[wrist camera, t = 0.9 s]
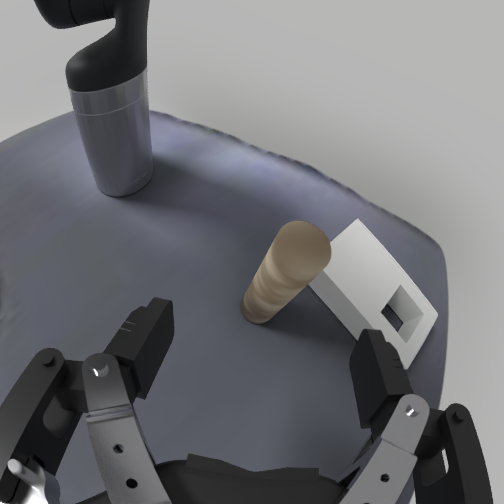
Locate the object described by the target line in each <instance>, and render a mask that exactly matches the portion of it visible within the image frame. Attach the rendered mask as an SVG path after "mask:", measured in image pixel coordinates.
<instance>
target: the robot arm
mask: <svg viewBox="0 0 504 504" xmlns="http://www.w3.org/2000/svg"><path fill="white" fill-rule="evenodd" d="M34 2H35V3H36V6H37V8H38V10H39V12H40V13H41V15H42V16H43V18H44V19H45V21H46V22H47V23H48V24H50V25H51V26H52V27H54V28H57V29H65V28H72V27H76V26H80V25H84V24H88V23H92V22H96V21H101V20H106V19H111V18H115V19H116V25H115V28H114V29H113V30H112V31H110V32H109V33H108V34H107V35H105V36H104V37H102V38H101V39H99V40H98V41H96V42H94V43H92V44H90V45H89V46H87V47H85V48H84V49H82V50H80V51H79V52H77V53H76V54H75V55H74V56H73V57H72V58H71V59H70V60H69V62H68V63H67V66H66V78H67V83H68V87H69V92H70V96H71V101H72V105H73V109H74V112H75V116H76V120H77V124H78V128H79V131H80V135H81V138H82V142H83V145H84V148H85V151H86V155H87V158H88V161H89V164H90V167H91V170H92V173H93V176H94V179H95V181H96V184H97V186H98V188H99V189H100V190H101V191H102V192H103V193H105V194H106V195H110V196H117V197H119V196H126V195H129V194H132V193H134V192H137V191H138V190H140V189H141V188H143V187H144V186H145V185H146V184H147V183H148V182H149V180H150V179H151V177H152V175H153V170H154V168H153V158H152V145H151V134H150V120H149V103H148V81H147V20H148V10H149V2H150V0H34ZM173 336H174V317H173V303H172V301H171V300H166V299H161V298H156V297H154V298H153V299H152V300H151V302H150V303H149V305H148V306H147V307H142V306H141V307H139V308H138V309H136V310H134V311H133V312H131V314H130V315H129V317H128V318H127V319H126V322H124V323H123V325H122V326H121V329H119V330H118V332H117V333H116V335H115V336H114V337H113V339H112V340H111V342H110V343H109V345H108V346H107V347H106V349H105V350H104V352H103V353H97V354H93V355H91V356H89V357H88V358H87V359H86V360H85V361H72V360H65V359H64V357H63V355H62V353H61V352H60V351H59V350H57V349H54V348H46V349H43V350H41V351H39V352H38V353H37V354H36V355H35V356H34V358H33V359H32V361H31V362H30V363H29V365H28V366H27V367H26V369H25V370H24V372H23V373H22V375H21V376H20V377H19V379H18V380H17V382H16V383H15V385H14V386H13V388H12V389H11V391H10V392H9V394H8V395H7V397H6V398H5V400H4V402H3V403H2V405H1V407H0V504H60V502H59V497H60V486H59V483H58V481H57V479H56V478H55V475H56V472H57V470H58V467H59V465H60V462H61V460H62V458H63V455H64V453H65V451H66V448H67V446H68V444H69V441H70V439H71V437H72V435H73V433H74V430H75V428H76V426H77V424H78V422H79V420H80V418H81V416H82V414H83V412H84V413H89V416H87V417H86V421H87V426H88V431H89V435H90V439H91V443H92V447H93V450H94V454H95V457H96V461H97V464H98V467H99V471H100V474H101V477H102V480H103V482H104V485H105V488H106V491H104V492H102V493H100V494H98V495H96V496H93V497H91V498H89V499H86V500H84V501H81V502H79V503H76V504H395V502H396V501H397V499H398V497H399V495H400V494H401V492H402V490H403V488H404V486H405V484H406V482H407V480H408V478H409V476H410V474H411V472H412V471H413V478H414V487H415V497H416V504H493V498H492V492H491V487H490V482H489V477H488V472H487V468H486V465H485V460H484V456H483V453H482V449H481V446H480V442H479V439H478V436H477V432H476V429H475V427H474V423H473V421H472V418H471V415H470V413H469V411H468V409H467V408H466V407H464V406H463V405H461V404H457V403H454V404H451V405H450V406H449V407H448V408H447V409H446V410H445V411H442V410H436V409H431V408H429V406H428V404H427V403H426V401H425V400H424V399H423V398H421V397H420V396H418V395H415V394H414V393H413V391H412V388H411V385H410V382H409V380H408V377H407V374H406V372H405V369H404V368H403V367H404V366H403V364H402V361H400V356H399V354H398V351H397V350H396V348H395V347H394V346H393V345H392V344H391V343H390V342H386V340H385V338H384V335H383V333H382V331H381V330H377V329H363V330H362V332H361V334H360V336H359V339H358V341H357V343H356V345H355V347H354V349H353V352H352V354H351V357H350V371H351V376H352V381H353V386H354V391H355V397H356V402H357V407H358V413H359V419H360V425H361V429H364V428H371V432H372V433H371V434H370V435H369V437H368V438H367V440H366V441H365V443H364V444H363V446H362V447H361V449H360V450H359V452H358V453H357V455H356V456H355V458H354V459H353V460H352V462H351V463H350V465H349V466H348V467H347V468H346V470H345V471H344V472H343V473H342V474H341V475H340V476H339V477H338V478H337V479H336V480H335V481H334V480H332V479H330V478H327V477H324V476H321V475H319V468H288V467H287V468H281V469H275V470H268V471H259V472H252V471H248V470H246V469H243V468H240V467H237V466H235V465H232V464H229V463H227V462H224V461H222V460H218V459H212V458H207V457H202V456H198V455H193V454H189V453H188V457H187V460H173V461H168V462H164V463H160V464H157V463H156V461H155V459H154V457H153V454H152V452H151V450H150V448H149V446H148V444H147V441H146V439H145V436H144V434H143V431H142V429H141V426H140V423H139V421H138V418H137V415H136V412H135V409H134V407H133V403H134V401H135V398H136V397H138V398H141V399H144V400H145V399H146V396H147V394H148V392H149V390H150V388H151V385H152V383H153V381H154V379H155V377H156V375H157V372H158V370H159V368H160V366H161V364H162V362H163V360H164V357H165V355H166V353H167V351H168V349H169V347H170V345H171V343H172V340H173ZM444 449H445V451H446V456H447V460H448V465H449V468H448V472H447V474H446V470H445V465H444V460H443V455H442V450H444Z"/></svg>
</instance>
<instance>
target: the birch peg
mask: <svg viewBox="0 0 504 504" xmlns="http://www.w3.org/2000/svg"><path fill="white" fill-rule="evenodd" d="M330 259H331V245H330V242H329V240H328V238H327V237H326V235H325V234H324V233H323V232H322V231H321V230H320V229H319V228H318V227H317V226H315V225H313V224H311V223H309V222H305V221H292V222H289V223H287V224H285V225H284V226H282V227H281V228H280V230H279V231H278V233H277V235H276V237H275V239H274V241H273V243H272V245H271V246H270V248H269V250H268V252H267V254H266V256H265V258H264V260H263V261H262V263H261V265H260V267H259V269H258V271H257V273H256V274H255V276H254V278H253V280H252V282H251V284H250V285H249V287H248V289H247V291H246V293H245V295H244V297H243V298H242V300H241V304H240V309H241V313H242V315H243V316H244V318H245V319H246V320H248V321H249V322H251V323H254V324H262V323H265V322H267V321H268V320H270V319H271V318H272V317H273V316H274V315H275V314H276V313H277V312H279V311H280V310H281V309H282V308H283V307H284V306H285V305H286V304H287V303H288V302H290V301H291V300H292V299H293V298H294V297H295V296H296V295H297V294H298V293H299V292H300V291H301V290H302V289H304V288H305V287H306V286H307V285H308V284H309V283H310V282H311V281H312V280H313V279H314V278H315V277H316V276H317V275H318V274H319V273H320V272H321V271H322V270H323V269H324V268H325V267H326V266H327V265H328V264H329V262H330Z"/></svg>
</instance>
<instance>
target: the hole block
mask: <svg viewBox="0 0 504 504" xmlns="http://www.w3.org/2000/svg"><path fill="white" fill-rule="evenodd" d="M330 245H331V259H330V262H329V264H328V265H327V266H326V267H325V268H324V269H323V270H322V271H321V272H320V273H319V274H318V275H317V276H316V277H315V278H314V279H313V280H312V281H311V282H310V283H309V284H308V285H309V286H310V287H311V288H312V289H313V290H314V292H315V293H316V294H317V295H318V296H319V297H320V298H321V299H322V301H323V302H324V303H325V304H326V305H327V306H328V307H329V309H330V310H331V311H332V312H333V313H334V314H335V315H336V317H337V318H338V319H339V320H340V321H341V322H342V323H343V325H344V326H345V327H346V328H347V329H348V330H349V331H350V333H351V334H352V335H353V336H354V337H355V338H356V340H357V341H358V339H359V336H360V334H361V332H362V330H363V329H377V330H381V331H382V333H383V335H384V338H385V340H386V342H390V343H391V344H392V345H393V346H394V347H395V348H396V350H397V351H398V354H399V356H400V361H402V364H403V366H404V367H403V368H404V369H405V370H406V369H408V367H409V366H410V364H411V363H412V361H413V359H414V358H415V356H416V355H417V353H418V351H419V349H420V348H421V346H422V344H423V343H424V341H425V339H426V337H427V335H428V334H429V332H430V330H431V328H432V326H433V324H434V322H435V320H436V318H437V316H438V313H437V312H436V311H435V309H434V308H433V307H432V305H431V304H430V303H429V301H428V300H427V299H426V297H425V296H424V295H423V294H422V292H421V291H420V290H419V288H418V287H417V286H416V285H415V283H414V282H413V281H412V280H411V278H410V277H409V276H408V275H407V274H406V272H405V271H404V270H403V269H402V267H401V266H400V265H399V264H398V263H397V262H396V260H395V259H394V258H393V257H392V256H391V255H390V253H389V252H388V251H387V250H386V249H385V248H384V247H383V245H382V244H381V243H380V242H379V241H378V240H377V239H376V238H375V237H374V235H373V234H372V233H371V232H370V231H369V230H368V229H367V228H366V227H365V226H364V225H363V224H362V222H361V221H360V220H359V219H356V220H355V221H354V222H353V223H352V224H351V225H350V226H349V227H347V228H346V229H345V230H344V231H343V232H342V233H341V234H339V235H338V236H337V237H336V238H335V239H334V240H332V241H331V242H330ZM387 303H388V305H389V306H390V307H391V308H392V309H393V311H394V312H395V313H396V314H397V316H398V317H399V318H400V319H401V321H402V322H403V325H402V326H401V328H400V329H399V331H398V332H396V330H395V329H394V328H393V327H392V325H391V324H390V323H389V322H388V321H387V319H386V318H385V317H384V316H383V315H382V313H381V311H382V309H383V308H384V307H385V305H386V304H387Z"/></svg>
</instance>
